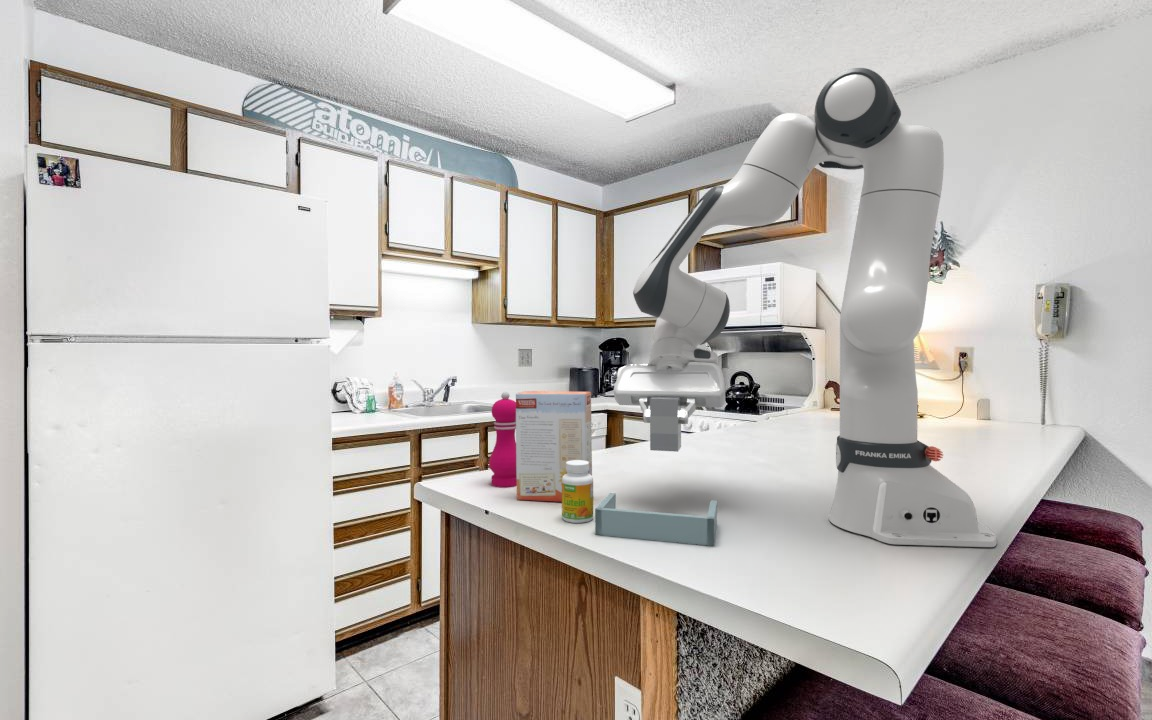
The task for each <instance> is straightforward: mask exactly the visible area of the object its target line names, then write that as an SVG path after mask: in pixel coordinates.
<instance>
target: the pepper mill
mask: <svg viewBox="0 0 1152 720" xmlns="http://www.w3.org/2000/svg"><path fill="white" fill-rule="evenodd" d="M500 397H501V399H498V400H496V401H495V402H494V403H493V404H492V407H491V416H492V417H493V419H494V420H495V421H494V422H493V424H494V426H493V428H494V429H495V434H496V438H495V439H496V440H495V444H494V447H493V449H492V452H491V454H490V458H489V463H488V466H489V469H490V470H491V472H492V473H493V474H492V475H491V485H492V486H494V487H497V488H510V487H517V476H516V400H514V399H510V397H511V396H510V393H509V392H507V391H503V392H502V393H501V395H500Z"/></svg>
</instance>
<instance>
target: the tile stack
mask: <svg viewBox="0 0 1152 720" xmlns="http://www.w3.org/2000/svg"><path fill="white" fill-rule="evenodd" d="M649 410H650V423H649V434H650V435H649V447H650V451H657V452H679V451H680V449H681V447H682V424H679V411H682V407H681V397H652V398H650V406H649Z"/></svg>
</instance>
